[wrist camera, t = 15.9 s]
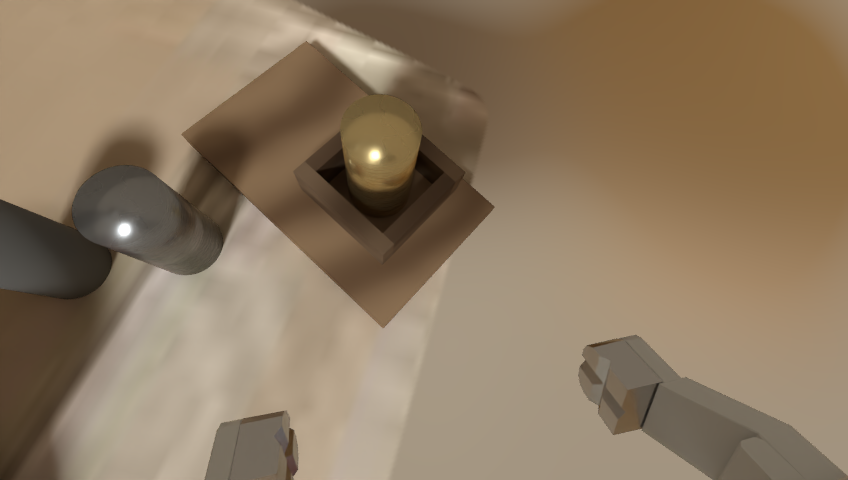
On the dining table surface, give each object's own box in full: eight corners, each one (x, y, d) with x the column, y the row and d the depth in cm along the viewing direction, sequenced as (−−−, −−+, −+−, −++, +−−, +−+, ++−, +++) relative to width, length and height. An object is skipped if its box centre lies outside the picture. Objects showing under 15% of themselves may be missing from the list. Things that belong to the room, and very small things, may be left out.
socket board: (190, 144, 30) (159, 110, 26) (309, 54, 33) (299, 10, 29) (383, 328, 28) (384, 324, 24) (489, 213, 31) (507, 191, 27)
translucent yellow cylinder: (336, 188, 29) (322, 126, 21) (379, 151, 30) (382, 80, 22) (379, 229, 28) (381, 181, 21) (421, 190, 29) (438, 131, 22)
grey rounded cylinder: (23, 267, 26) (-120, 233, 19) (83, 222, 28) (-29, 173, 20) (67, 313, 26) (-62, 297, 18) (125, 265, 27) (28, 231, 20)
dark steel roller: (142, 245, 28) (52, 204, 20) (194, 202, 29) (128, 149, 21) (184, 288, 27) (110, 263, 20) (236, 243, 28) (184, 204, 21)
